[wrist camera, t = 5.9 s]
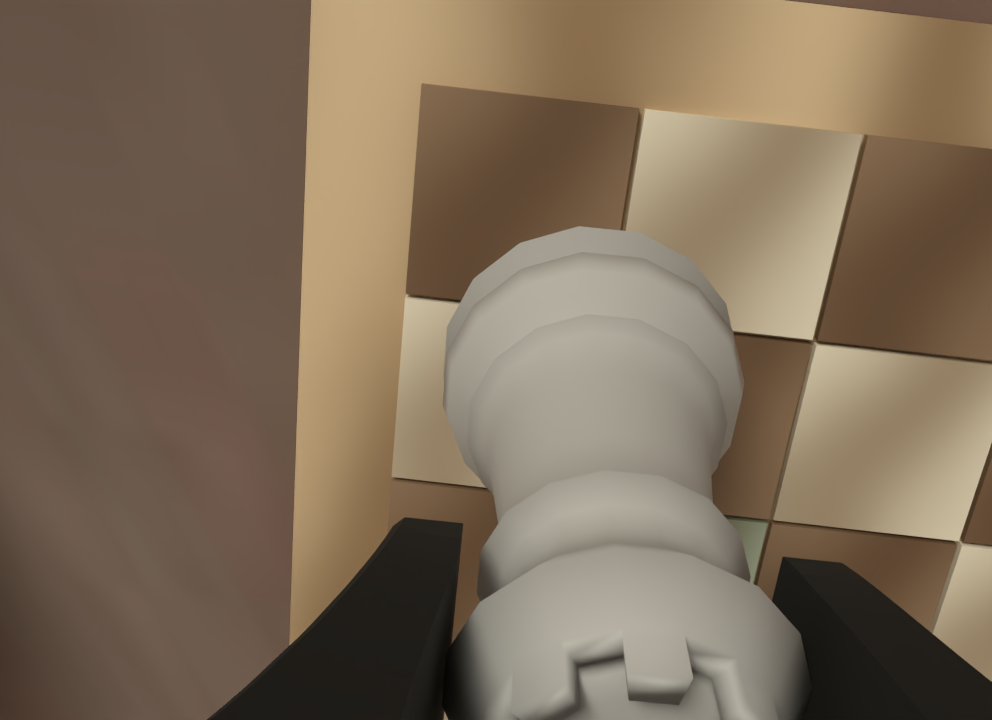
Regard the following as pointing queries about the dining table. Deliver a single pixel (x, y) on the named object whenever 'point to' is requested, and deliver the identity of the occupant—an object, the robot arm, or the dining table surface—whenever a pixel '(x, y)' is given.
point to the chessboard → (683, 228)
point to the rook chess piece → (607, 494)
